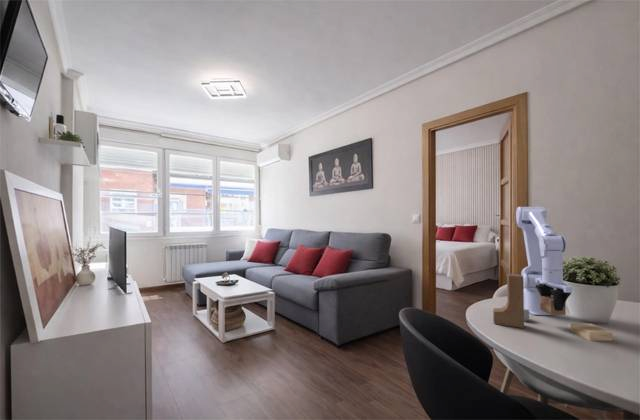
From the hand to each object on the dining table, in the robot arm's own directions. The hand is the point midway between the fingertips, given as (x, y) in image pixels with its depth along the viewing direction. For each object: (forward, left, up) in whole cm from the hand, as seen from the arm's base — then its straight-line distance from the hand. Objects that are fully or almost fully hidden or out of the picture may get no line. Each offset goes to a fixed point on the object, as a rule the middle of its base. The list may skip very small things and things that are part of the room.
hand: (552, 307), depth 103 cm
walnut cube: (0, 0, -2) cm, 2 cm away
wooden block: (-1, -15, -7) cm, 16 cm away
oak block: (+8, +6, -7) cm, 12 cm away
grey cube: (-7, -7, -7) cm, 12 cm away
